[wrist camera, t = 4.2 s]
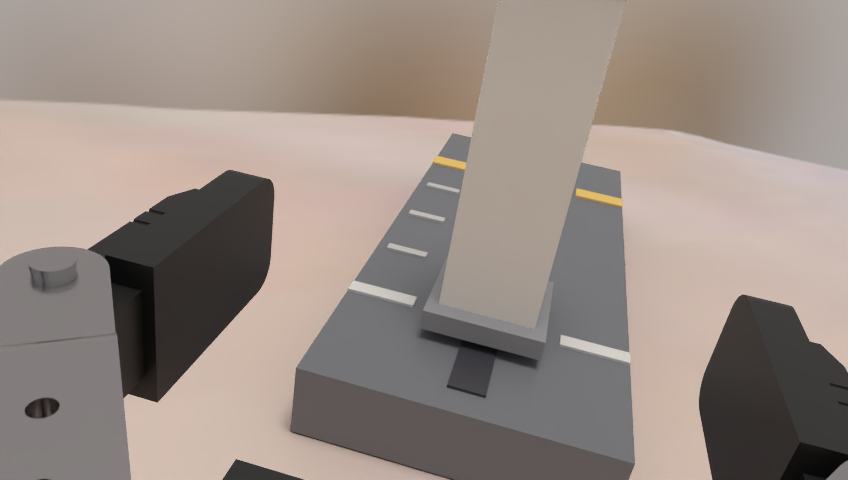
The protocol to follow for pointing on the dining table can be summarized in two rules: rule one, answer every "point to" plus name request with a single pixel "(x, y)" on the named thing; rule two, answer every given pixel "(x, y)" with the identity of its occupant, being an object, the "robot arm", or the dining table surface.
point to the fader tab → (522, 171)
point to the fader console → (479, 353)
